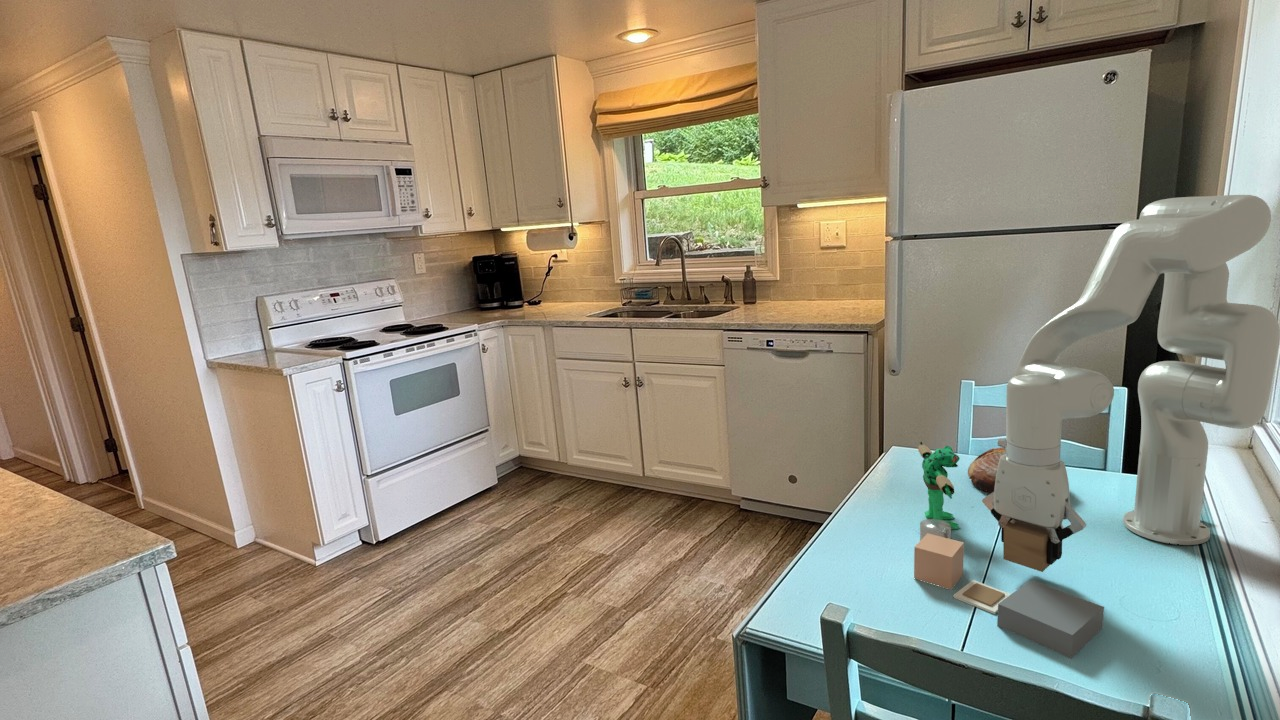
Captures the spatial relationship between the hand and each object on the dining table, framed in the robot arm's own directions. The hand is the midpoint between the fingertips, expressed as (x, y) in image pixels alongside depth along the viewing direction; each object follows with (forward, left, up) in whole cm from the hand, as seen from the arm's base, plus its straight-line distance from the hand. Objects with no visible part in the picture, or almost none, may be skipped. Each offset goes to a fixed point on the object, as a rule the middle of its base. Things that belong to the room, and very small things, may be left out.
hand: (1030, 553), depth 110 cm
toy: (-9, -20, -5) cm, 23 cm away
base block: (+12, +8, -5) cm, 15 cm away
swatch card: (+11, -2, -4) cm, 12 cm away
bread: (-35, -18, -5) cm, 40 cm away
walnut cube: (0, 0, -1) cm, 1 cm away
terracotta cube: (+10, -10, -4) cm, 15 cm away
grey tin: (+4, -14, -4) cm, 15 cm away
